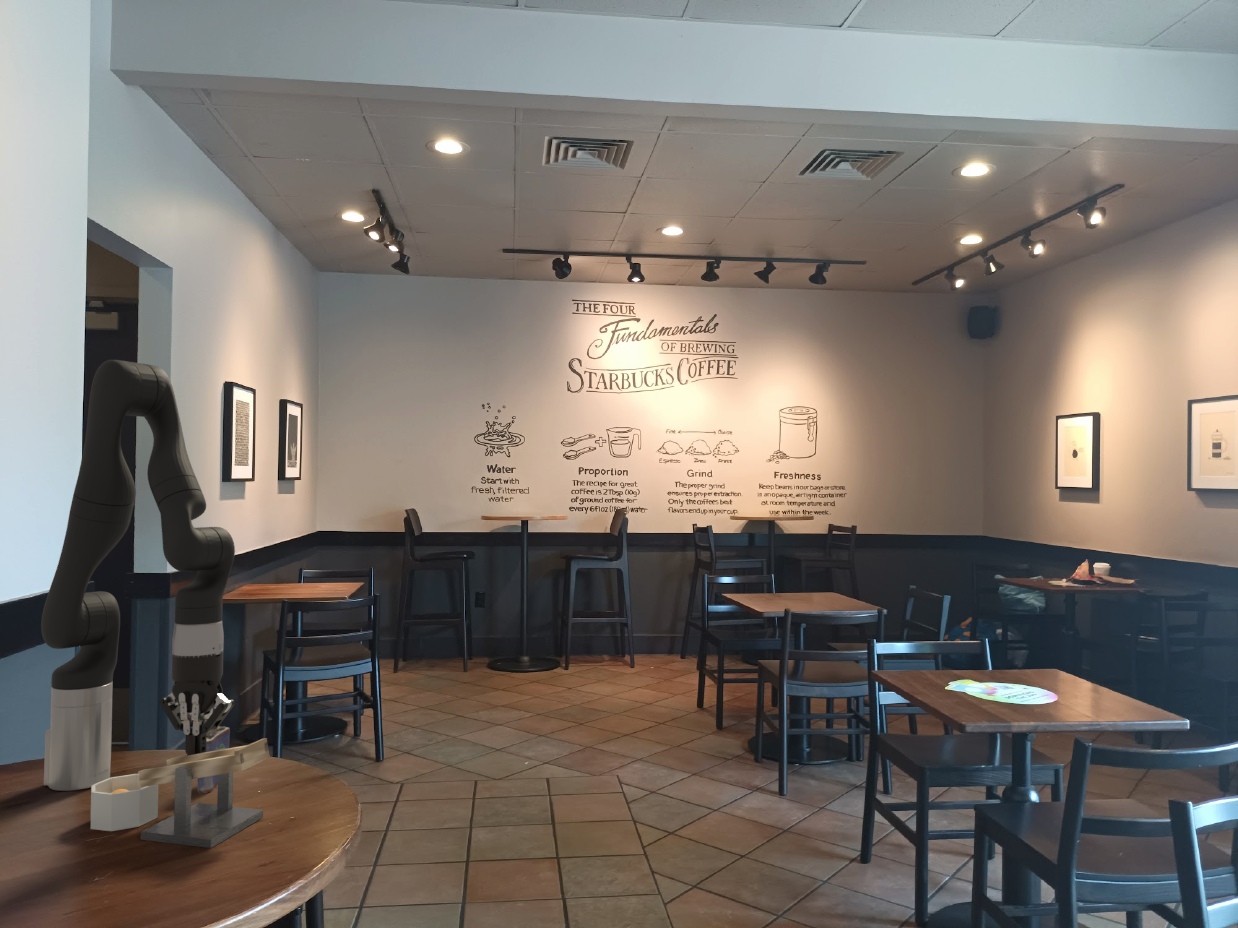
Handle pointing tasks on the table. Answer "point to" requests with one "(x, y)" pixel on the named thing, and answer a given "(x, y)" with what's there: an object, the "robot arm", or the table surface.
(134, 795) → the cup
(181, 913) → the table surface
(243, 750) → the lever
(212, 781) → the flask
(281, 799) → the table surface
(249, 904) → the table surface
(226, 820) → the lever stand
